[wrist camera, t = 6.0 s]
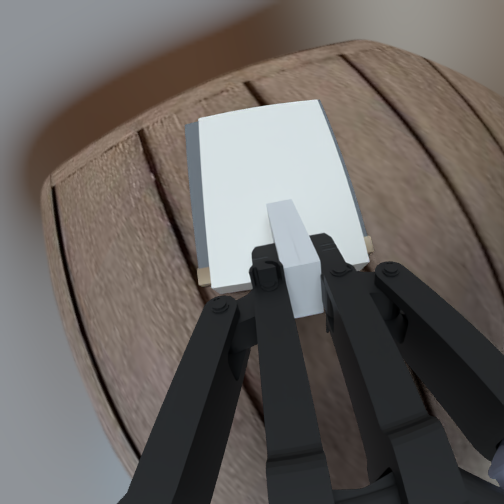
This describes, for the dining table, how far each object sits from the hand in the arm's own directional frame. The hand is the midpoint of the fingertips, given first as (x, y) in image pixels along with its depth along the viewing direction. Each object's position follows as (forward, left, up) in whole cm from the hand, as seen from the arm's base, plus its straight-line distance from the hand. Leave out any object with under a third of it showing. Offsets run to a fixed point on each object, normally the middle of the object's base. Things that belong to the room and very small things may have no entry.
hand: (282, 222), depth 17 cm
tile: (+2, +2, -3) cm, 4 cm away
